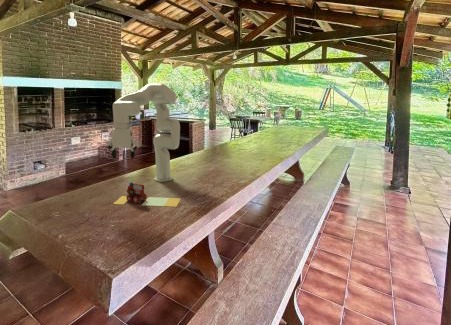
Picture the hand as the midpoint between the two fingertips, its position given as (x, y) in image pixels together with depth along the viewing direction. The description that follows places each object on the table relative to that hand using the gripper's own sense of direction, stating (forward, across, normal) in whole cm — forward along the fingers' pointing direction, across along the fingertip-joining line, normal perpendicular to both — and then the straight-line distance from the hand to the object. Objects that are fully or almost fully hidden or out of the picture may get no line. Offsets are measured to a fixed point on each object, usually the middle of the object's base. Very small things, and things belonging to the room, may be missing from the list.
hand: (123, 158), depth 156 cm
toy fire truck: (+25, -5, -2) cm, 26 cm away
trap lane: (+25, -12, -2) cm, 28 cm away
